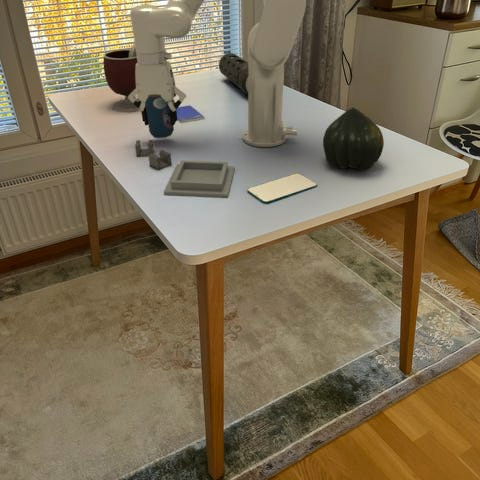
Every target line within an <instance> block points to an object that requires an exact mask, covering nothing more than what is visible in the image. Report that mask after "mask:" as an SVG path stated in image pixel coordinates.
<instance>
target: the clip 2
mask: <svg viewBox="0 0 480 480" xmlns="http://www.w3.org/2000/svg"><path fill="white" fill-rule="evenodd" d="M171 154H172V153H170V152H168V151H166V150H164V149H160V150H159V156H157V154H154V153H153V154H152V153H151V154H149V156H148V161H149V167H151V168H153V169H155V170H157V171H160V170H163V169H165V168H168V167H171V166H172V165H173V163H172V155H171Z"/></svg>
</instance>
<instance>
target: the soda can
mask: <svg viewBox="0 0 480 480" xmlns="http://www.w3.org/2000/svg"><path fill="white" fill-rule="evenodd" d="M145 106H146V112H147V119H148V125H147V126H148V132H149V134H150V135H151V136H152V137H153V138H156V139H165V138H169V137H171V136H172V135H173V132H174V130H175V125H171V119H170V111H171V109H170V107H169V105H168V102H166V101H165V100H164V99H163V98H162V97H161V95H159V96H150V95H148V98H147V100H146V102H145Z"/></svg>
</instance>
